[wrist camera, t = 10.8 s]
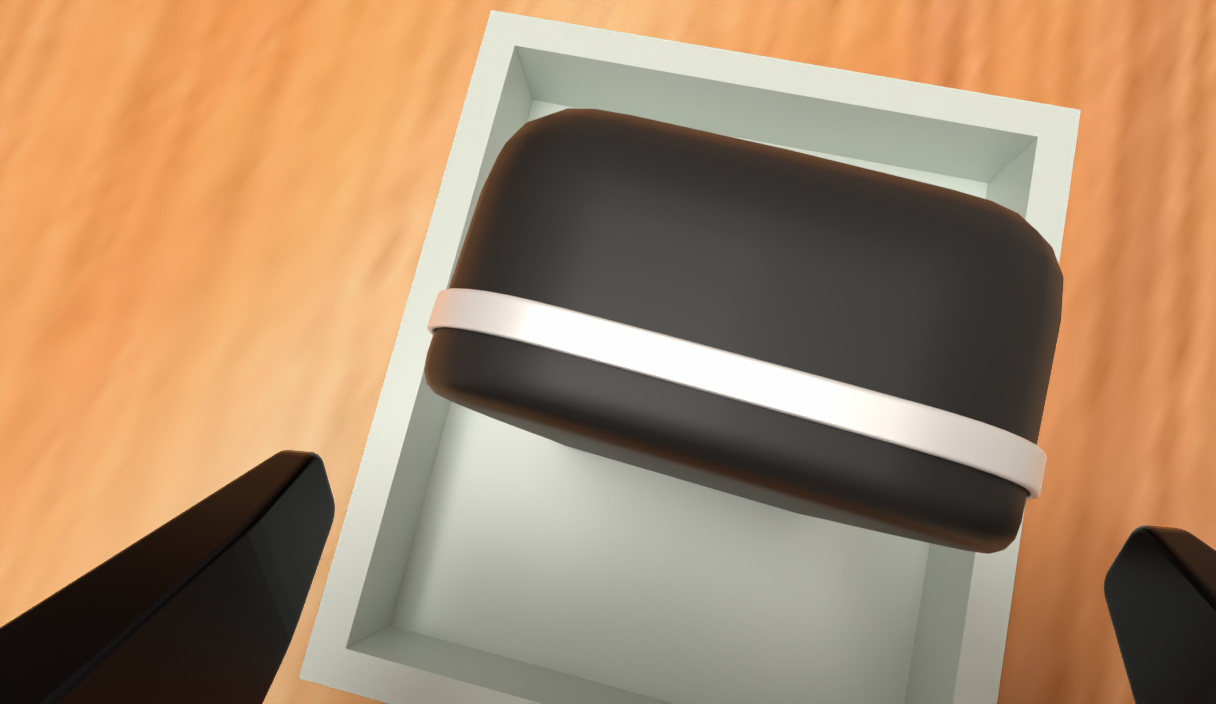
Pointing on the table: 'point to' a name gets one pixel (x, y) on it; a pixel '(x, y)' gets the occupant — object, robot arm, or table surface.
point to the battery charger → (758, 324)
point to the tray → (642, 499)
